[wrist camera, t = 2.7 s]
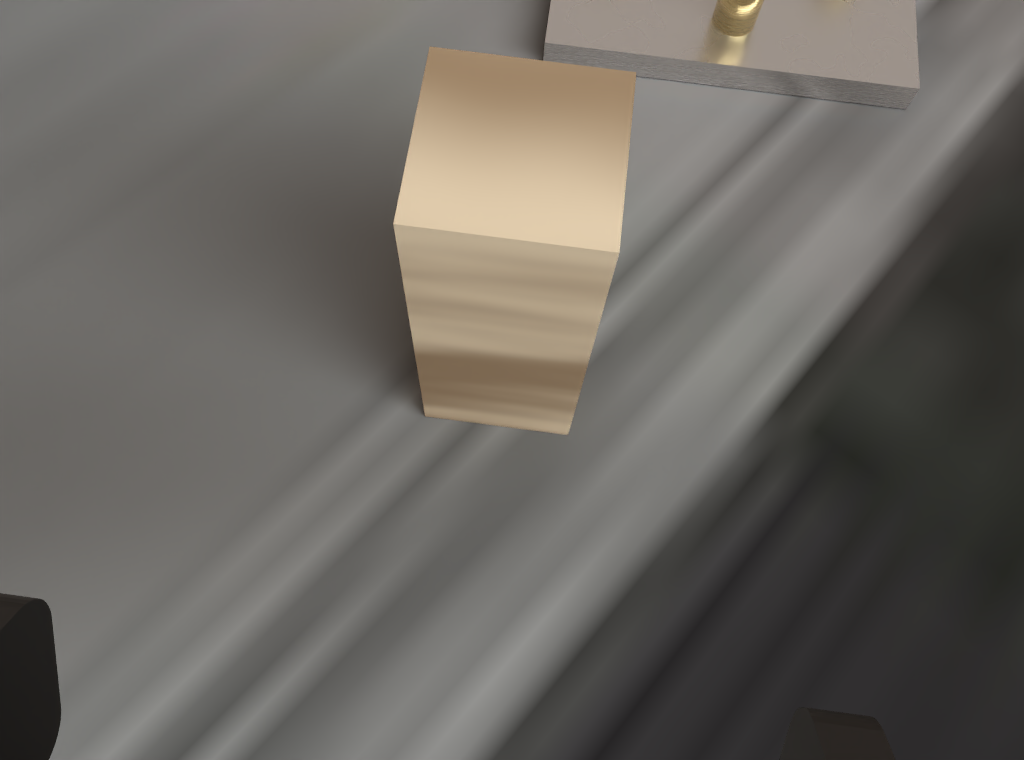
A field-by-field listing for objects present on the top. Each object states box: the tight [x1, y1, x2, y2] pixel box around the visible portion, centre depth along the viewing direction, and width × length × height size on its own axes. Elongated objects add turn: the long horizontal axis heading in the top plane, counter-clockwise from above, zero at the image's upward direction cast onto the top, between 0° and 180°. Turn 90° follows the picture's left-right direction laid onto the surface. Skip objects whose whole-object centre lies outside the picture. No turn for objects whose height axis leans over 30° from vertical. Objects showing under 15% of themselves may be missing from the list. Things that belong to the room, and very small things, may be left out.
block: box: [393, 47, 636, 435], centre depth 21 cm, size 4×4×10 cm
